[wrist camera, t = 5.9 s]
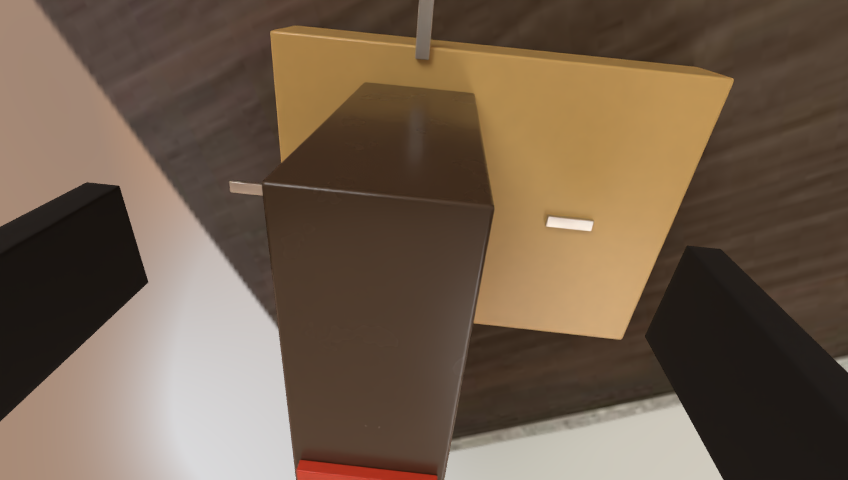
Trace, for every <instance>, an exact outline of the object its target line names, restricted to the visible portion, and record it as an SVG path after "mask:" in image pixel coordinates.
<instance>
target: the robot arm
mask: <svg viewBox="0 0 848 480" xmlns="http://www.w3.org/2000/svg"><path fill="white" fill-rule="evenodd" d="M147 283H148V280H147V276H146V274H145V270H144V266H143V263H142V260H141V256H140V253H139V250H138V246H137V243H136V240H135V237H134V233H133V230H132V226H131V223H130V220H129V216H128V213H127V210H126V207H125V203H124V200H123V197H122V193H121V190H120V187H119V186H115V185H107V184H97V183H85V184H83V185H81V186H79V187H77V188H75V189H73V190H71V191H69V192H67V193H65V194H63V195H61V196H59V197H57V198H55V199H54V200H52V201H50V202H48V203H46V204H44V205H42V206H40V207H38V208H36V209H34V210H32V211H30V212H28V213H26V214H24V215H22V216H20V217H19V218H16V219H15V220H13V221H11V222H9V223H7V224H5V225H3V226H1V227H0V421H1V420H2V419H3V418H4V417H5V416H7V414H9V413H10V412H11V411H12V410H13V409H14V408H15V407H16V406H17V405H18V404H19V403H20V402H21V401H22V400H24V398H26V397H27V396H28V395H29V394H30V393H31V392H32V391H33V390H34V389H35V388H36V387H37V386H38V385H39V384H41V383H42V382H43V381H44V380H45V379H46V378H47V377H48V376H49V375H50V374H51V373H52V372H53V371H54V370H55V369H56V368H58V367H59V366H60V365H61V364H62V363H63V362H64V361H65V360H66V359H67V358H68V357H69V356H70V355H71V354H73V353H74V351H76V350H77V349H78V348H79V347H80V346H81V345H82V344H83V343H84V342H85V341H86V340H87V339H88V338H90V337H91V336H92V335H93V334H94V333H95V332H96V331H97V330H98V329H99V328H100V327H101V326H102V325H103V324H104V323H105V322H106V321H107V320H108V319H110V318H111V317H112V316H113V315H114V314H115V313H116V312H117V311H118V310H119V309H120V308H121V307H123V306H124V305H125V304H126V303H127V302H128V301H129V300H130V299H131V298H132V297H133V296H134V295H135V294H136V293H137V292H138V291H140V290H141V289H142V288H143V287H144V286H145V285H146V284H147ZM645 337H646V339H647V341H648V343H649V345H650V347H651V348H652V350H653V352H654V354H655V356H656V357H657V359H658V361H659V363H660V365H661V367H662V368H663V370H664V372H665V374H666V376H667V378H668V379H669V381H670V383H671V385H672V387H673V389H674V390H675V392H676V394H677V396H678V398H679V400H680V401H681V403H682V405H683V407H684V409H685V410H686V412H687V414H688V415H689V418H690V420H691V421H692V423H693V425H694V427H695V429H696V431H697V432H698V434H699V436H700V438H701V440H702V442H703V443H704V445H705V447H706V449H707V451H708V452H709V454H710V456H711V458H712V460H713V462H714V463H715V465H716V467H717V469H718V471H719V473H720V474H721V476H722V478H723V479H724V480H848V372H847V371H846V370H845V369H844V368H843V367H841V366H840V365H839V364H838V363H837V362H836V361H835V360H834V359H833V358H832V357H831V356H830V355H829V354H828V353H827V352H826V351H825V350H824V349H823V348H822V347H821V346H820V345H819V344H818V343H817V342H816V341H815V340H814V339H813V338H812V337H811V336H810V335H809V334H808V333H807V332H805V331H804V330H803V329H802V328H801V327H800V326H799V325H798V324H797V323H796V322H795V321H794V320H793V319H792V318H791V317H790V316H789V315H788V314H787V313H786V312H785V311H784V310H783V309H782V308H781V307H780V306H779V305H778V304H777V303H776V302H775V301H774V300H773V299H772V298H771V297H769V296H768V295H767V294H766V293H765V292H764V291H763V290H762V289H761V288H760V287H759V286H758V285H757V284H756V283H755V282H754V281H753V280H752V279H751V278H750V277H749V276H748V275H747V274H746V273H745V272H744V271H743V270H742V269H741V268H740V267H739V266H738V265H737V264H736V263H735V262H733V261H732V260H731V259H730V258H729V257H728V256H727V255H726V254H725V253H724V252H723V251H722V250H721V249H714V248H704V247H695V246H687V247H686V249H685V251H684V253H683V255H682V257H681V260H680V262H679V264H678V266H677V268H676V270H675V272H674V275H673V277H672V279H671V281H670V283H669V285H668V288H667V290H666V292H665V294H664V296H663V298H662V300H661V303H660V305H659V307H658V309H657V311H656V313H655V316H654V318H653V320H652V322H651V324H650V326H649V329H648V331H647V333H646V335H645Z"/></svg>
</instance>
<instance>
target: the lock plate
mask: <svg viewBox="0 0 848 480" xmlns="http://www.w3.org/2000/svg"><path fill="white" fill-rule="evenodd" d="M433 9H434V0H419V8H418V22H417V36H416V38H412V37H403V36H393V35H383V34H374V33H364V32H354V31H345V30H335V29H325V28H316V27H306V26H291V27H286V28H281V29H277V30H272V31H271V32H270V36H271V48H272V59H273V71H274V83H275V94H276V106H277V118H278V129H279V141H280V153H281V163H282V162H283V161H284V160H285V159H286V158H287V157H288V156H289V155H290V154H291V153H292V152H293V151H294V150H295V149H296V148H297V147H298V146H299V145H300V144H301V143H302V142H304V141H305V140H306V139H307V138H308V137H309V136H310V135H311V134H312V133H313V132H314V131H315V130H316V129H317V128H318V127H319V126H320V125H321V124H322V123H323V122H324V121H325V120H326V119H327V118H328V117H329V116H330V115H331V114H332V113H333V112H334V111H335V110H336V109H337V108H339V107H340V106H341V105H342V104H343V103H344V102H345V101H346V100H347V99H348V98H349V97H350V96H351V95H352V94H353V93H354V92H355V91H356V90H357V89H358V88H359V87H360V86H361V85H362V84H363V83H365V82H369V83H379V84H389V85H399V86H408V87H418V88H428V89H438V90H448V91H458V92H468V93H474V94H475V99H476V105H477V110H478V116H479V122H480V127H481V133H482V139H483V144H484V150H485V156H486V162H487V167H488V173H489V179H490V184H491V190H492V196H493V201H494V207H495V211H494V216H493V222H492V227H491V232H490V238H489V243H488V248H487V254H486V259H485V264H484V270H483V275H482V280H481V286H480V291H479V296H478V302H477V307H476V312H475V318H474V323H476V324H485V325H494V326H503V327H512V328H521V329H530V330H539V331H547V332H556V333H565V334H574V335H583V336H592V337H601V338H610V339H619V340H621V339H622V338H623V335H624V333H625V331H626V328H627V326H628V324H629V322H630V319H631V317H632V315H633V312H634V310H635V308H636V305H637V303H638V301H639V299H640V296H641V294H642V292H643V289H644V287H645V285H646V282H647V280H648V278H649V275H650V273H651V271H652V269H653V266H654V264H655V262H656V259H657V257H658V255H659V252H660V250H661V248H662V246H663V243H664V241H665V239H666V236H667V234H668V232H669V229H670V227H671V225H672V223H673V220H674V218H675V216H676V213H677V211H678V209H679V206H680V204H681V202H682V200H683V197H684V195H685V193H686V190H687V188H688V186H689V183H690V181H691V179H692V177H693V174H694V172H695V170H696V167H697V165H698V163H699V160H700V158H701V156H702V153H703V151H704V149H705V147H706V144H707V142H708V140H709V137H710V135H711V133H712V130H713V128H714V126H715V124H716V121H717V119H718V117H719V114H720V112H721V110H722V107H723V105H724V103H725V101H726V98H727V96H728V94H729V91H730V89H731V87H732V84H733V82H734V79H733V78H731V77H727V76H724V75H721V74H718V73H715V72H711V71H708V70H705V69H702V68H698V67H692V66H683V65H673V64H663V63H654V62H644V61H634V60H625V59H615V58H605V57H596V56H586V55H576V54H567V53H557V52H547V51H538V50H528V49H518V48H509V47H499V46H489V45H480V44H470V43H460V42H451V41H441V40H432V39H431V32H432V20H433ZM229 185H230V191H231V192H235V193H244V194H253V195H262V196H263V192H262V183H256V182H247V181H238V180H230V181H229Z"/></svg>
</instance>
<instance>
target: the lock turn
mask: <svg viewBox="0 0 848 480" xmlns="http://www.w3.org/2000/svg"><path fill="white" fill-rule="evenodd" d="M262 192H263V201H264V210H265V218H266V227H267V235H268V244H269V252H270V261H271V269H272V278H273V286H274V295H275V303H276V312H277V320H278V329H279V337H280V346H281V354H282V363H283V371H284V380H285V388H286V396H287V405H288V414H289V422H290V431H291V440H292V448H293V457H294V465H295V474H296V480H444V478H445V472H446V467H447V461H448V455H449V451H450V446H451V440H452V435H453V430H454V424H455V419H456V414H457V408H458V403H459V398H460V392H461V387H462V382H463V376H464V371H465V366H466V360H467V355H468V350H469V344H470V339H471V334H472V328H473V323H474V318H475V312H476V307H477V302H478V296H479V291H480V286H481V280H482V275H483V270H484V264H485V259H486V254H487V248H488V243H489V238H490V232H491V227H492V222H493V216H494V211H495V207H494V201H493V196H492V190H491V184H490V179H489V173H488V167H487V162H486V156H485V150H484V144H483V139H482V133H481V127H480V122H479V116H478V110H477V105H476V99H475V94H474V93H468V92H458V91H448V90H438V89H428V88H418V87H408V86H399V85H389V84H379V83H369V82H365V83H363V84H362V85H361V86H360V87H359V88H358V89H357V90H356V91H355V92H354V93H353V94H352V95H351V96H350V97H349V98H348V99H347V100H346V101H345V102H344V103H343V104H342V105H341V106H340V107H339V108H337V109H336V110H335V111H334V112H333V113H332V114H331V115H330V116H329V117H328V118H327V119H326V120H325V121H324V122H323V123H322V124H321V125H320V126H319V127H318V128H317V129H316V130H315V131H314V132H313V133H312V134H311V135H310V136H309V137H308V138H307V139H306V140H305V141H304V142H302V143H301V144H300V145H299V146H298V147H297V148H296V149H295V150H294V151H293V152H292V153H291V154H290V155H289V156H288V157H287V158H286V159H285V160H284V161H283V162H282V163H281V164H280V165H279V166H278V167H277V168H276V169H275V170H274V171H273V172H272V173H271V174H270V175H269V176H267V177H266V178H265V179H264V180H263V182H262Z"/></svg>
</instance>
